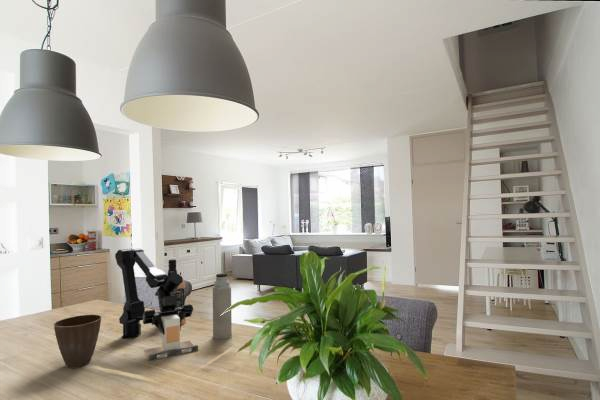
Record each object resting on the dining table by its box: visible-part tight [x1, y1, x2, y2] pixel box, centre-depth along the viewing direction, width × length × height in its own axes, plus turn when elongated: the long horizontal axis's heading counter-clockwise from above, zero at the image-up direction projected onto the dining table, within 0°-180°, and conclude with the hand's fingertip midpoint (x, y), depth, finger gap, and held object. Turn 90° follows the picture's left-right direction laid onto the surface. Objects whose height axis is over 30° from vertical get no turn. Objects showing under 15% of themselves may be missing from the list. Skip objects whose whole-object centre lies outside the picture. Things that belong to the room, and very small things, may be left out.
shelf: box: [143, 340, 199, 362], centre depth 140 cm, size 18×13×3 cm
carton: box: [161, 315, 181, 351], centre depth 140 cm, size 6×6×12 cm
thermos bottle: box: [212, 273, 233, 340], centre depth 156 cm, size 8×8×28 cm
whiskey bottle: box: [160, 258, 187, 325], centre depth 180 cm, size 10×10×32 cm
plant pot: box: [53, 314, 102, 369], centre depth 131 cm, size 15×15×16 cm
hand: (171, 332), depth 139 cm, fingers closed on carton, 5 cm apart
